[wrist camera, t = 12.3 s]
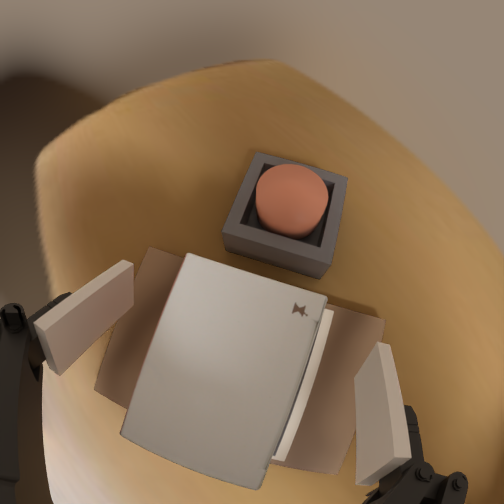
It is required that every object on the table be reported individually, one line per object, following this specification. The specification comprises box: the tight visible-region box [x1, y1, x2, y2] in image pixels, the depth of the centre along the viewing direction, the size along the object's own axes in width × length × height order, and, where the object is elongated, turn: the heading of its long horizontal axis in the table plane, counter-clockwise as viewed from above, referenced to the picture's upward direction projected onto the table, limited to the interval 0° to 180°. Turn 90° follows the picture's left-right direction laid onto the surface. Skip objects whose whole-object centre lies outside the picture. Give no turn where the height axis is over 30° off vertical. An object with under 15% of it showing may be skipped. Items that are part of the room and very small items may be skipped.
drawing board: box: [94, 246, 386, 475], centre depth 19 cm, size 20×13×1 cm, turn 72°
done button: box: [256, 164, 328, 240], centre depth 21 cm, size 5×5×3 cm
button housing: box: [221, 152, 348, 279], centre depth 22 cm, size 8×8×4 cm
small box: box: [120, 253, 328, 490], centre depth 13 cm, size 8×6×10 cm
